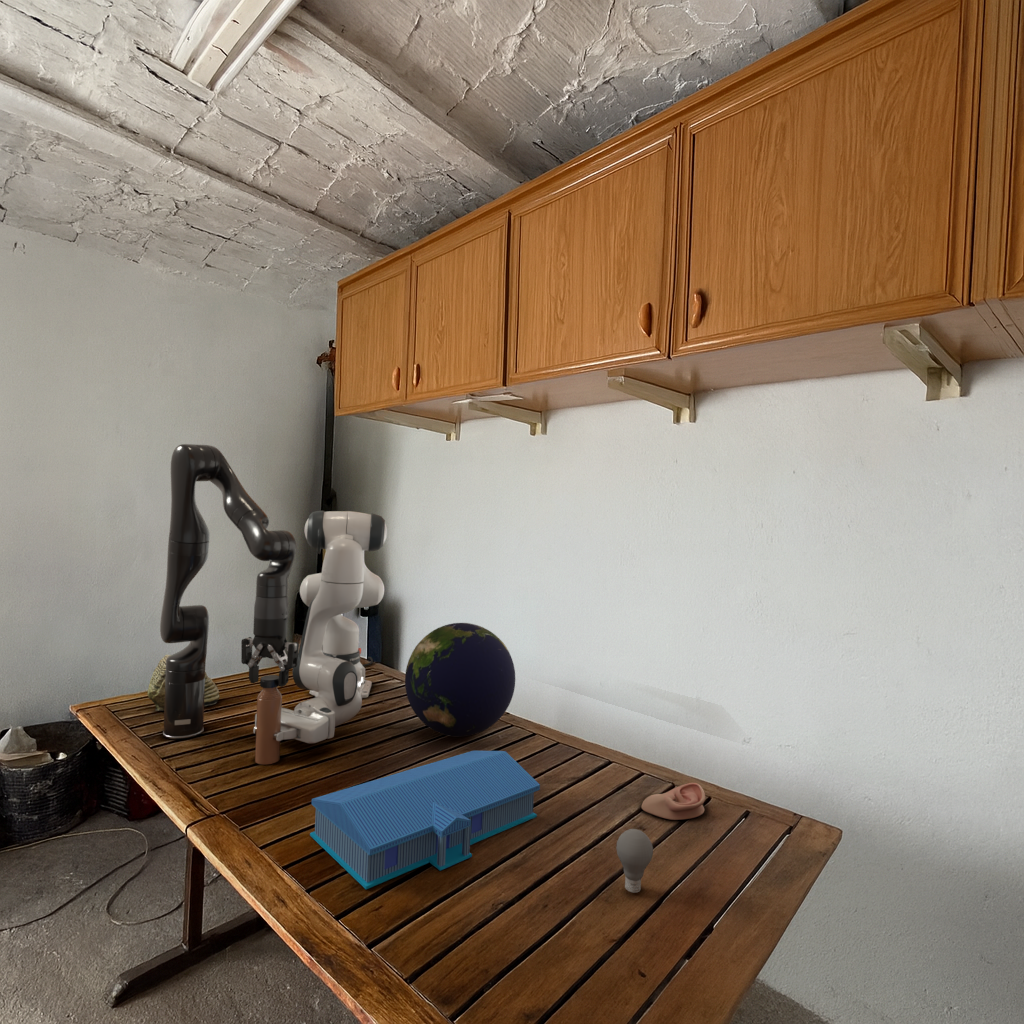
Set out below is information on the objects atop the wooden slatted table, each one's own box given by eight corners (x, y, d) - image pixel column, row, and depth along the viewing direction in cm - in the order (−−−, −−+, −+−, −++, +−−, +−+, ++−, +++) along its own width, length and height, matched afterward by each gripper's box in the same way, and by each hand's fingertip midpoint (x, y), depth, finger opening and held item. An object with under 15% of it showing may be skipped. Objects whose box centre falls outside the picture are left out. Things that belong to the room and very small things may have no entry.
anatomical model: (642, 796, 131) (642, 773, 142) (641, 815, 131) (641, 791, 142) (708, 805, 128) (703, 781, 140) (707, 825, 129) (702, 799, 140)
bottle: (281, 762, 150) (284, 681, 149) (256, 766, 147) (259, 684, 147) (278, 753, 155) (280, 675, 154) (253, 757, 152) (256, 677, 152)
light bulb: (610, 879, 108) (613, 822, 108) (644, 879, 109) (647, 822, 109) (619, 902, 102) (622, 840, 102) (655, 901, 103) (658, 840, 103)
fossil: (144, 707, 182) (145, 655, 182) (212, 696, 194) (213, 647, 194) (151, 716, 175) (153, 662, 175) (221, 703, 188) (223, 653, 188)
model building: (376, 899, 100) (378, 836, 100) (308, 834, 119) (310, 781, 118) (548, 822, 127) (550, 773, 127) (472, 779, 145) (474, 735, 145)
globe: (380, 741, 165) (385, 626, 164) (436, 708, 192) (440, 610, 192) (485, 764, 153) (490, 641, 153) (528, 725, 181) (533, 621, 181)
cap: (277, 681, 154) (277, 674, 154) (282, 686, 150) (282, 678, 150) (258, 684, 151) (258, 676, 151) (262, 689, 147) (262, 681, 147)
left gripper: (234, 614, 148) (231, 685, 148) (289, 620, 145) (286, 692, 145) (254, 609, 155) (251, 676, 155) (306, 614, 152) (304, 683, 152)
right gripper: (281, 698, 167) (236, 712, 155) (339, 713, 157) (296, 730, 145) (280, 721, 167) (235, 737, 155) (338, 738, 157) (295, 757, 145)
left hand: (268, 683), depth 150 cm, fingers open, 7 cm apart
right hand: (265, 734), depth 150 cm, fingers closed on bottle, 5 cm apart
